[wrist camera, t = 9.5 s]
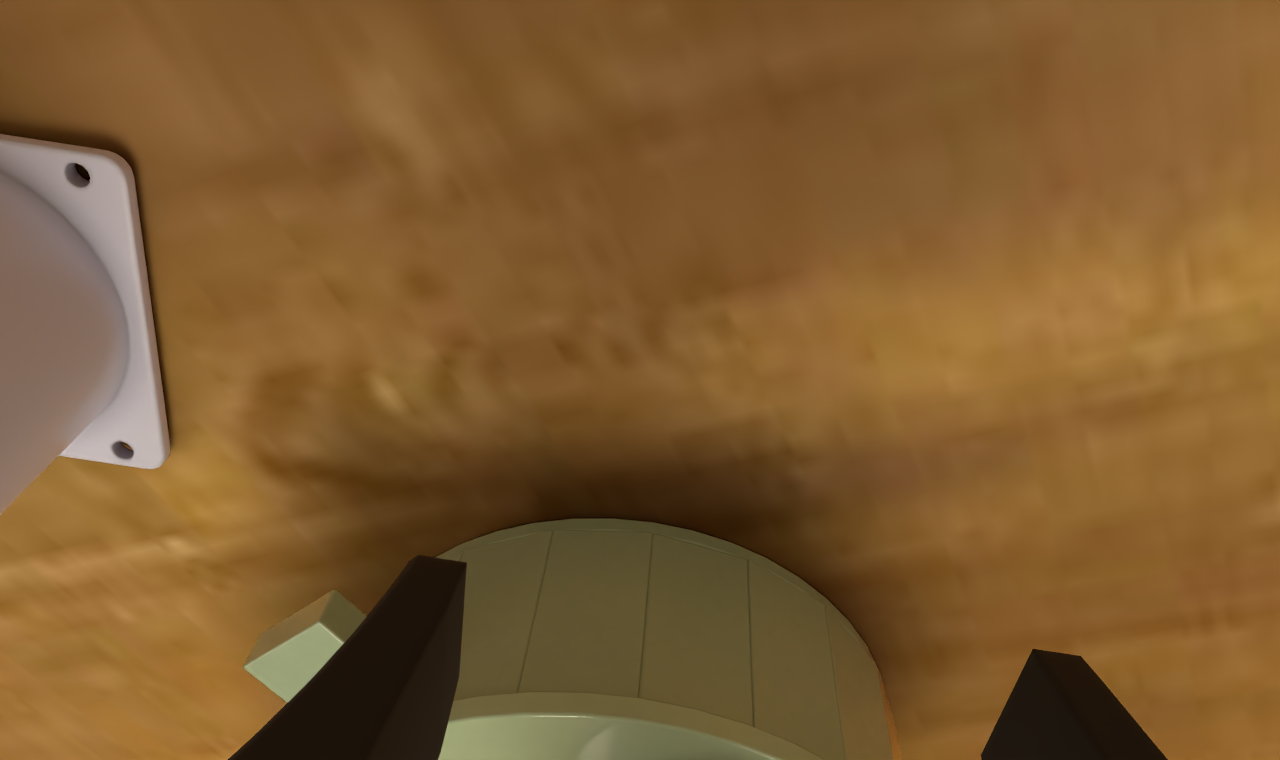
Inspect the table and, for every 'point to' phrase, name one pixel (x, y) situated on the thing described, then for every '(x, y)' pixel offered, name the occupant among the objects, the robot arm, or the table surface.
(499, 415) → the table surface
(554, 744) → the pot lid
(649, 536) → the pot
